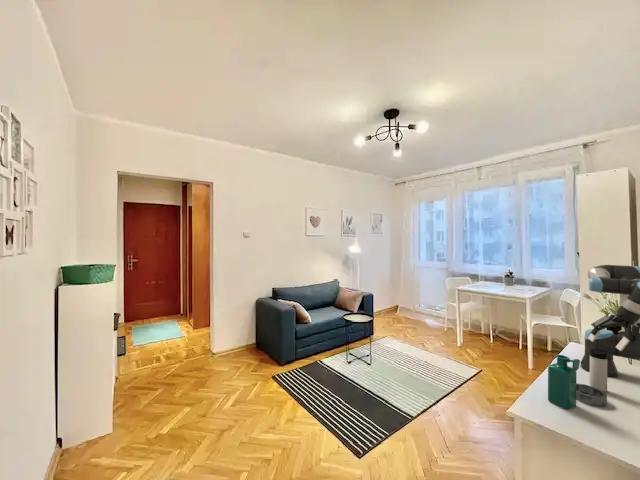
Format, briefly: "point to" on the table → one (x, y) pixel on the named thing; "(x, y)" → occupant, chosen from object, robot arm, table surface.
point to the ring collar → (596, 397)
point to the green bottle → (562, 382)
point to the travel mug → (598, 369)
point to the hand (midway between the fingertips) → (604, 344)
